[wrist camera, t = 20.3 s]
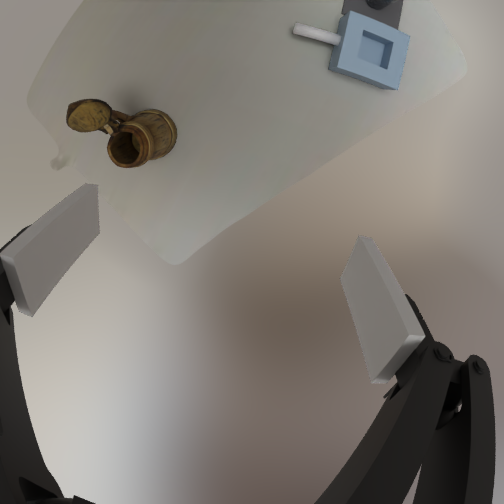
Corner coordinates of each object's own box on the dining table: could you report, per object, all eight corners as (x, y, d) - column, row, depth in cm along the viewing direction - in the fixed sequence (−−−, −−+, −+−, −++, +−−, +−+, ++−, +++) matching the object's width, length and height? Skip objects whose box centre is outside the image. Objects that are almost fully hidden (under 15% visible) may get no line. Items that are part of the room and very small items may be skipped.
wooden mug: (147, 79, 40) (92, 80, 25) (186, 142, 46) (148, 172, 31) (109, 108, 43) (47, 125, 27) (145, 167, 49) (98, 207, 34)
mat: (350, -29, 28) (351, -30, 28) (403, -7, 29) (404, -8, 28) (341, 13, 33) (342, 13, 33) (395, 35, 34) (396, 35, 34)
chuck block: (298, 6, 33) (303, -4, 28) (394, 39, 34) (410, 36, 29) (285, 58, 38) (289, 53, 33) (383, 88, 40) (397, 90, 35)
